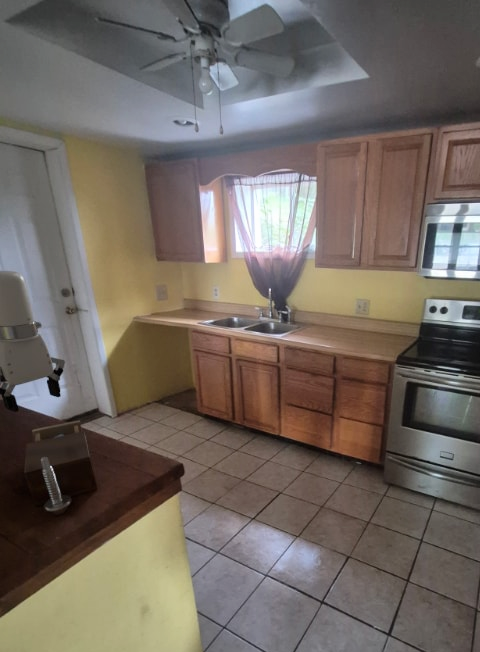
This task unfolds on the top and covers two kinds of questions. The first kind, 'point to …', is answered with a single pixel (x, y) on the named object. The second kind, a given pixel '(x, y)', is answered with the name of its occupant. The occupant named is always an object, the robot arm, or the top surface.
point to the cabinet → (60, 466)
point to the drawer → (56, 430)
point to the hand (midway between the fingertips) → (35, 402)
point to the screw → (54, 491)
